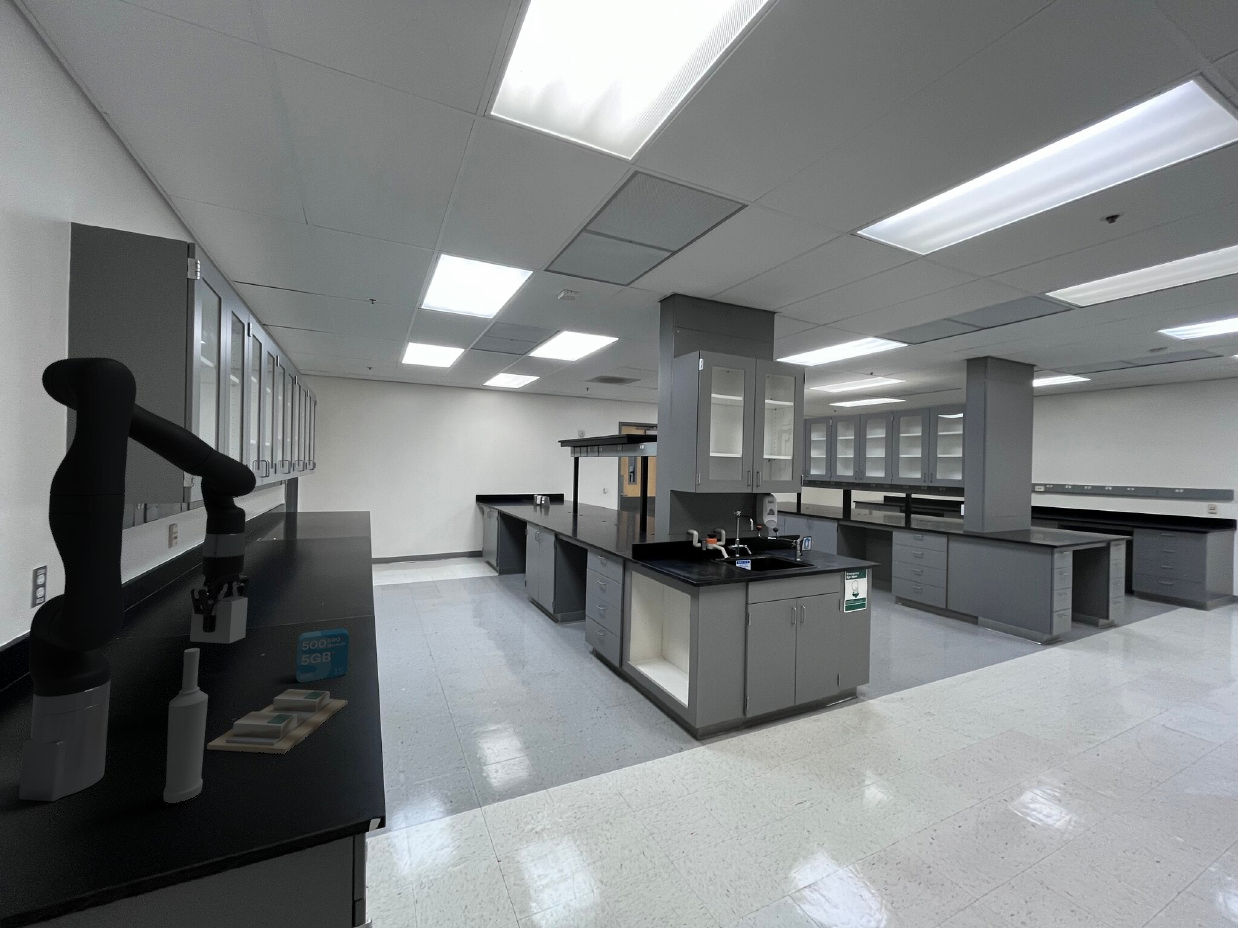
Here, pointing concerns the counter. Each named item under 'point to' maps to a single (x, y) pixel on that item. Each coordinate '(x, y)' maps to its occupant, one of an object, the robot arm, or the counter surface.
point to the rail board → (280, 723)
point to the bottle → (186, 735)
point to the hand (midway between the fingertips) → (218, 628)
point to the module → (222, 622)
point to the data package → (322, 655)
